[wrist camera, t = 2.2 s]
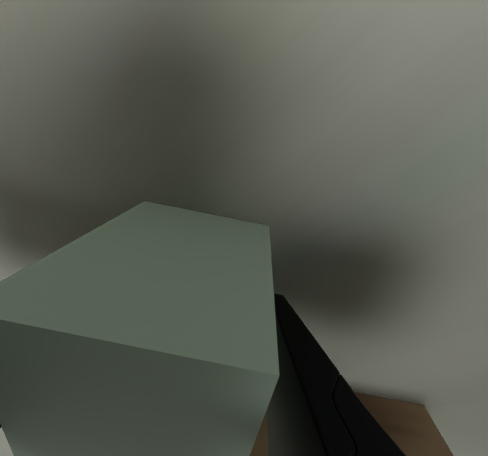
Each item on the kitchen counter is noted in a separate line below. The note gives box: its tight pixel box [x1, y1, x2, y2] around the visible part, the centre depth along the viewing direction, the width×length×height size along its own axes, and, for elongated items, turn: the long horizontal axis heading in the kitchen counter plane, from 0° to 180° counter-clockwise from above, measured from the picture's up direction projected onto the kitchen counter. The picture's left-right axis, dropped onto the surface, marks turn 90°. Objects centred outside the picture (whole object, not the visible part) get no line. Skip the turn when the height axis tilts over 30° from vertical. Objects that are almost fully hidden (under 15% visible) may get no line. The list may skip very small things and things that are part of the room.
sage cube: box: [0, 201, 279, 456], centre depth 7 cm, size 5×5×6 cm
